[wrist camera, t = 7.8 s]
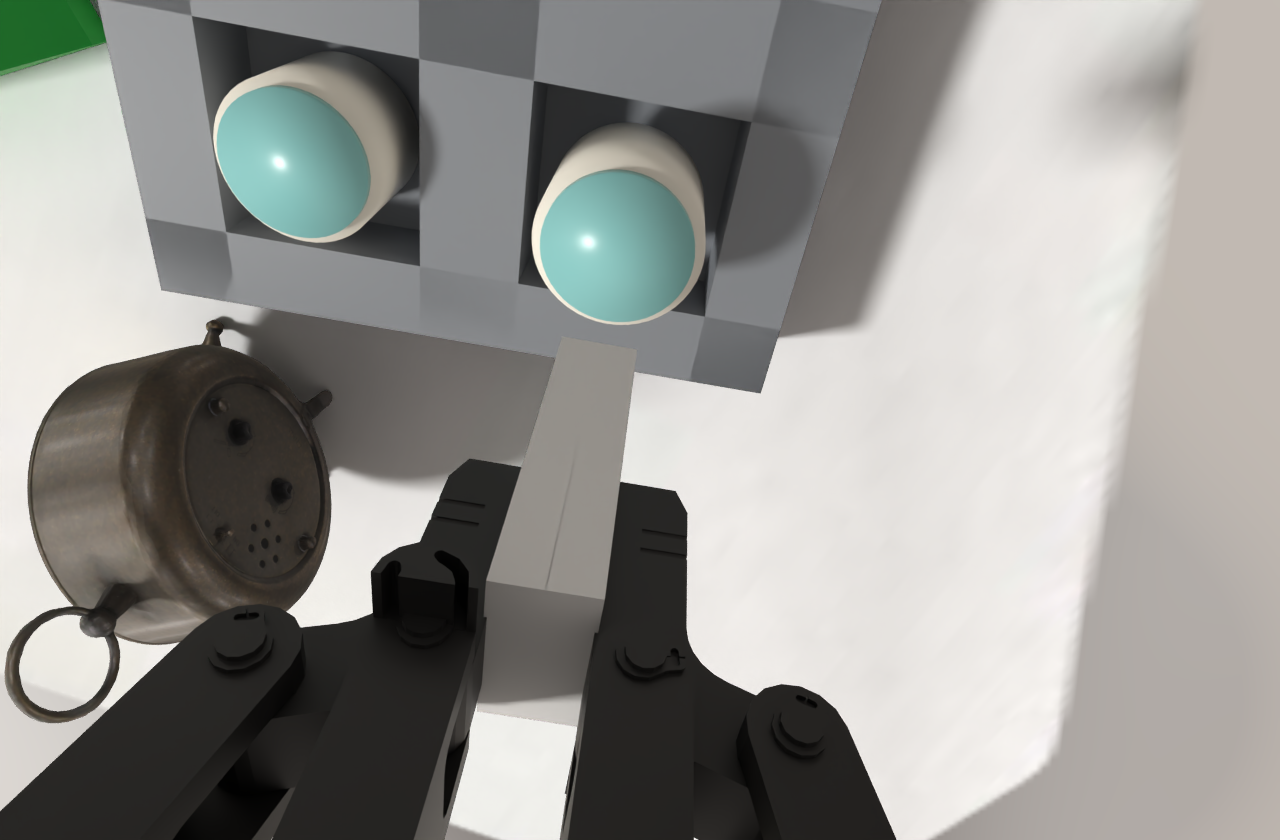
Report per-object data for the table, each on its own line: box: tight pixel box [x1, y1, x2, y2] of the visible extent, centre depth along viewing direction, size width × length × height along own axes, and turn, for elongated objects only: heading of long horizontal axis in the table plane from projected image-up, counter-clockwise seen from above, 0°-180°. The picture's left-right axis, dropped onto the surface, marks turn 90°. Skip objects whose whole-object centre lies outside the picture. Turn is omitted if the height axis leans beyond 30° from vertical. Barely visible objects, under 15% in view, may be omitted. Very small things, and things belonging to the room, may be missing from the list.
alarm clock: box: [5, 320, 333, 723], centre depth 27 cm, size 11×5×16 cm, turn 14°
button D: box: [213, 51, 420, 243], centre depth 24 cm, size 5×5×4 cm
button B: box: [532, 122, 706, 325], centre depth 23 cm, size 5×5×4 cm
